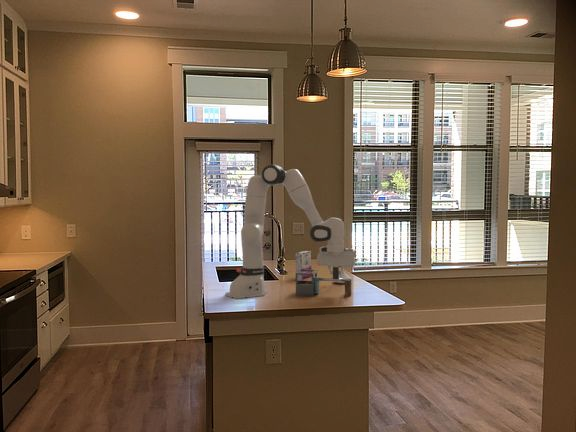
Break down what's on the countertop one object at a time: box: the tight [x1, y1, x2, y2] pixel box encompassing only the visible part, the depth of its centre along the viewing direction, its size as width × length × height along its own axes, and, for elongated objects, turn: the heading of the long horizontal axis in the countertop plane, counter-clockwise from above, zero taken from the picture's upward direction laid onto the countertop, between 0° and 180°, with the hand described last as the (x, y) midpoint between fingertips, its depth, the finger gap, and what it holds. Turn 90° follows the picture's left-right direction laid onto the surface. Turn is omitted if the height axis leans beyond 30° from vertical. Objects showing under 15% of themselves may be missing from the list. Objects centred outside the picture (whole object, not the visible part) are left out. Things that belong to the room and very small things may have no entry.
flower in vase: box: [333, 266, 353, 284], centre depth 298 cm, size 13×11×25 cm
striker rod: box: [314, 266, 349, 295], centre depth 266 cm, size 20×6×14 cm, turn 78°
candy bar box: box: [294, 250, 313, 280], centre depth 317 cm, size 11×5×16 cm, turn 143°
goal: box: [295, 269, 318, 297], centre depth 269 cm, size 10×12×12 cm
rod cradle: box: [344, 278, 352, 297], centre depth 264 cm, size 3×5×8 cm, turn 168°
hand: (335, 274), depth 265 cm, fingers closed on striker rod, 3 cm apart
